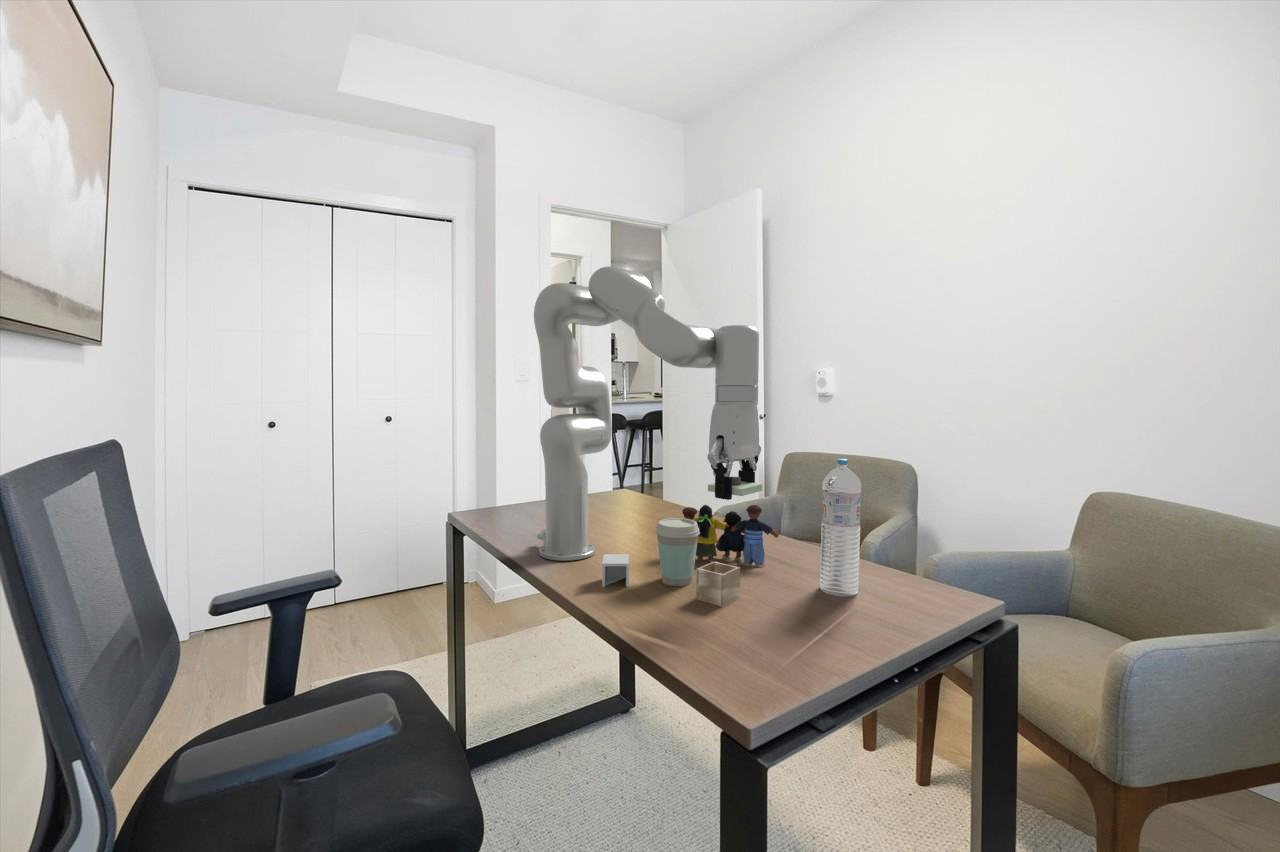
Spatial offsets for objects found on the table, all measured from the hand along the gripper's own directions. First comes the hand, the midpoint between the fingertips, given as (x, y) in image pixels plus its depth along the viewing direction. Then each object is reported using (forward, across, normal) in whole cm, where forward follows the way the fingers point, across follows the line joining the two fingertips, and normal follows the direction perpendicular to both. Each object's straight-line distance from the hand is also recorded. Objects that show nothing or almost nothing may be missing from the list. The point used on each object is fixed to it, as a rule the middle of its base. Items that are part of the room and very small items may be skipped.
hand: (735, 494), depth 107 cm
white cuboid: (+19, +9, -21) cm, 30 cm away
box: (+19, +3, -1) cm, 19 cm away
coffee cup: (+19, +1, -12) cm, 23 cm away
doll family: (+19, -17, -14) cm, 29 cm away
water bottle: (+19, -15, +13) cm, 28 cm away
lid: (-1, 0, 0) cm, 1 cm away
